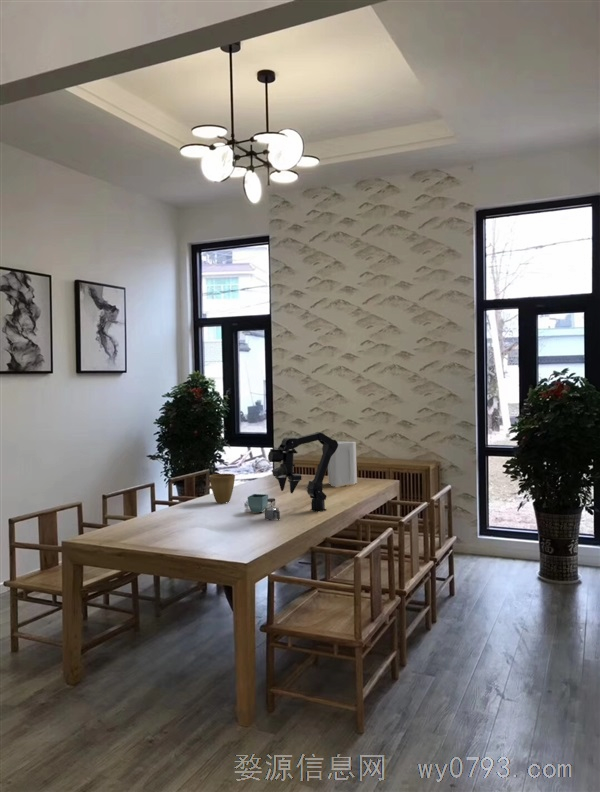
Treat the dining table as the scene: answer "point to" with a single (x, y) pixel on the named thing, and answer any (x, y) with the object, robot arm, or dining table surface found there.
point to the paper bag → (343, 465)
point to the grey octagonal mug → (272, 513)
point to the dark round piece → (271, 503)
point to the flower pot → (257, 502)
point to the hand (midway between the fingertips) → (286, 492)
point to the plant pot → (222, 486)
